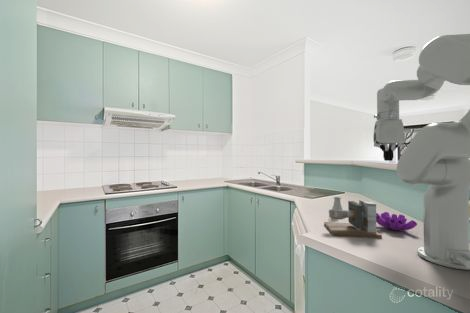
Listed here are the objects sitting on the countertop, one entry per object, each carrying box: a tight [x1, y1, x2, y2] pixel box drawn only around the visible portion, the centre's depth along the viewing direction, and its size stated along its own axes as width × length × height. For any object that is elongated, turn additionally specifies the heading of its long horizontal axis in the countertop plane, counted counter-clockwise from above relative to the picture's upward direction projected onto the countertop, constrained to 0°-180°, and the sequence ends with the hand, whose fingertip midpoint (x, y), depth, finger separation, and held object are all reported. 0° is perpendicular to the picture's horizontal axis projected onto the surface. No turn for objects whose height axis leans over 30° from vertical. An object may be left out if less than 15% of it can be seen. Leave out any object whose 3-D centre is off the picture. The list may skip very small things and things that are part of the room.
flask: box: [331, 196, 344, 219], centre depth 109 cm, size 7×7×10 cm
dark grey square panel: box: [347, 200, 362, 229], centre depth 87 cm, size 9×2×9 cm, turn 171°
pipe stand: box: [323, 199, 383, 239], centre depth 87 cm, size 14×17×12 cm
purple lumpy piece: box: [376, 211, 418, 231], centre depth 90 cm, size 11×15×10 cm
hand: (388, 160), depth 89 cm, fingers closed
